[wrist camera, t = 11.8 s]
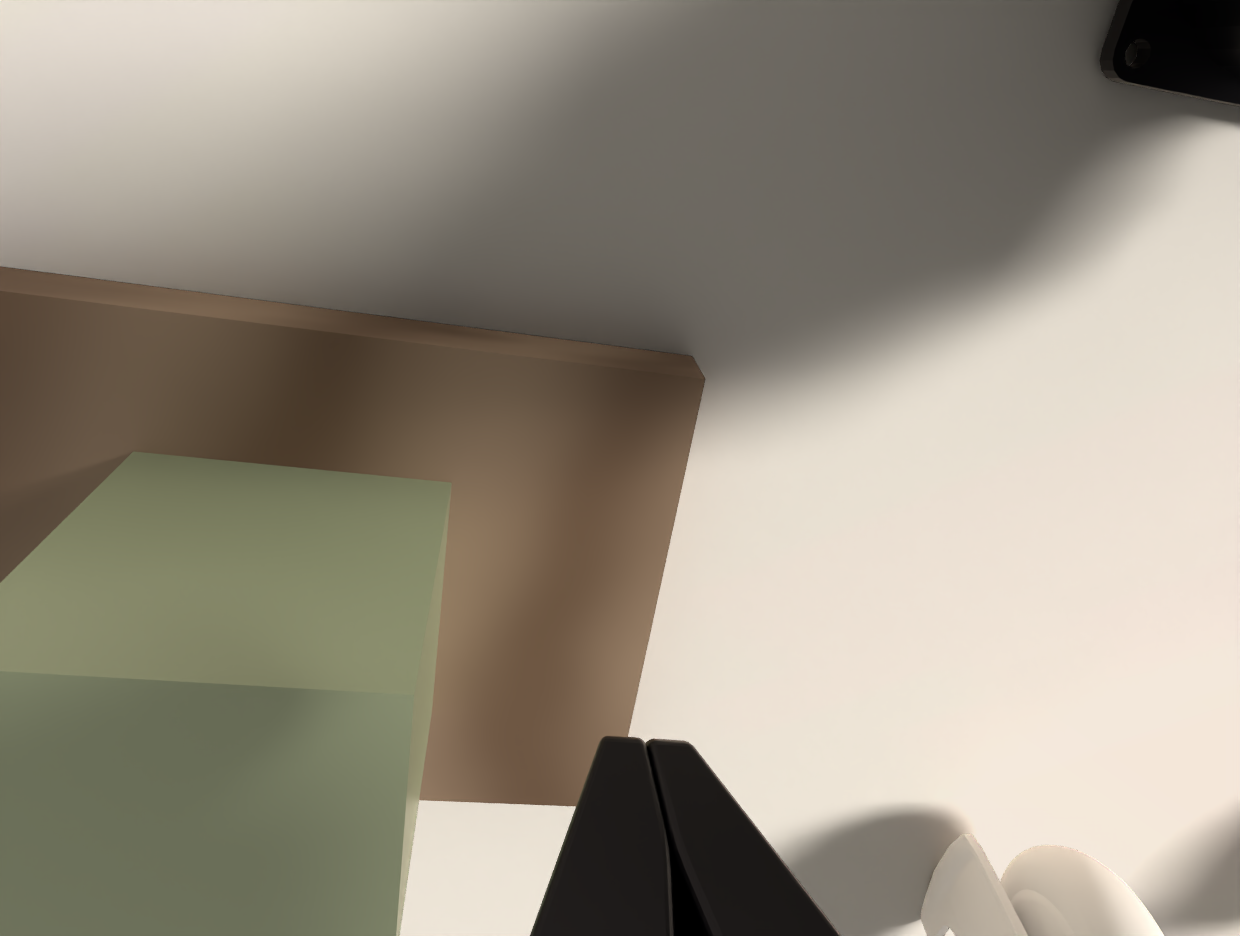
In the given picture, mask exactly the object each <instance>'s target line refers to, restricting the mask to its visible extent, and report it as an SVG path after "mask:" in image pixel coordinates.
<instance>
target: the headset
mask: <svg viewBox="0 0 1240 936" xmlns="http://www.w3.org/2000/svg"><path fill="white" fill-rule="evenodd" d="M921 920H922V923H923V926H924V929H925V931H926V934H927V936H944V935H945V934H946V932H947V931H948V929H949V928H950V929H951V930H952V931H953V933H954V934H955V936H1164V935H1163V933H1162V931H1161V930H1160V928H1159V926H1158V925H1157V923H1156V922H1155V920H1154V919H1153V917H1152V916H1151V914H1150V913H1149V911H1148V910H1147V908H1146V907H1145V906H1144V904H1143V903H1142V902H1141V900H1140V899H1139V898H1138V897H1137V895H1136V894H1135V893H1134V892H1133V891H1132V890H1131V888H1130V887H1129V886H1128V885H1127V884H1126V883H1125V882H1124V881H1123V880H1122V879H1121V878H1120V877H1119V876H1117V875H1116V874H1115V873H1114V872H1113V871H1111V870H1110V869H1109V868H1108V867H1106V866H1105V865H1104V864H1103V863H1101V862H1100V861H1098V860H1097V859H1095V858H1093V857H1091V856H1089V855H1087V854H1085V853H1083V852H1080V851H1078V850H1075V849H1072V848H1068V847H1064V846H1057V845H1041V846H1035V847H1032V848H1029V849H1027V850H1025V851H1023V852H1021V853H1020V854H1019V855H1017V856H1016V857H1015V858H1014V859H1013V860H1012V861H1011V862H1010V864H1009V865H1008V867H1007V868H1006V870H1005V871H1004V873H1003V876H1002V878H1001V881H999V879H998V877H997V875H996V873H995V871H994V869H993V867H992V865H991V864H990V862H989V860H988V858H987V856H986V854H985V852H984V851H983V849H982V847H981V846H980V844H979V843H978V842H977V840H976V839H975V837H974V836H973V835H972V834H963V835H961V836H960V837H959V838H958V839H956V840H955V841H954V842H953V843H952V844H951V845H950V846H949V847H948V849H947V850H946V852H945V854H944V855H943V857H942V858H941V860H940V862H939V863H938V865H937V866H936V868H935V870H934V872H933V875H932V878H931V881H930V884H929V887H928V890H927V893H926V896H925V899H924V902H923V906H922V910H921Z"/></svg>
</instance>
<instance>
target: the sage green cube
mask: <svg viewBox="0 0 1240 936" xmlns="http://www.w3.org/2000/svg"><path fill="white" fill-rule="evenodd" d="M451 485H452V483H451V482H441V481H430V480H420V479H410V478H400V477H389V476H379V475H369V474H359V473H348V472H338V471H328V470H318V469H307V468H297V467H287V466H277V465H266V464H256V463H246V462H236V461H226V460H215V459H205V458H195V457H185V456H174V455H164V454H154V453H144V452H132V453H131V454H130V455H129V456H128V457H127V458H126V459H125V460H124V461H123V462H122V463H121V464H120V465H119V466H118V467H117V468H116V469H115V470H114V471H113V472H112V473H111V474H110V475H109V476H108V477H107V478H106V479H105V480H104V481H103V482H102V483H101V484H100V485H99V486H98V487H97V488H96V489H95V490H94V491H93V492H92V493H91V494H90V495H89V496H88V497H87V498H86V499H85V500H84V501H83V502H82V503H81V504H80V505H79V506H78V507H77V508H76V509H75V510H74V511H73V512H72V513H71V514H70V515H69V516H68V517H67V518H66V519H65V520H63V521H62V522H61V523H60V524H59V525H58V526H57V527H56V528H55V529H54V530H53V531H52V532H51V533H50V534H49V535H48V536H47V537H46V538H45V539H44V540H43V541H42V542H41V543H40V544H39V545H38V546H37V547H36V548H35V549H34V550H33V551H32V552H31V553H30V554H29V555H28V556H27V557H26V558H25V559H24V560H23V561H22V562H21V563H20V564H19V565H18V566H17V567H16V568H15V569H14V570H13V571H12V572H11V573H10V574H9V575H8V576H7V577H6V578H5V579H4V580H3V581H2V582H1V583H0V936H399V935H400V928H401V921H402V915H403V908H404V901H405V894H406V887H407V880H408V873H409V866H410V859H411V852H412V845H413V839H414V832H415V825H416V818H417V811H418V804H419V797H420V790H421V783H422V776H423V770H424V763H425V756H426V749H427V742H428V735H429V728H430V721H431V714H432V704H433V692H434V681H435V669H436V658H437V646H438V635H439V623H440V612H441V600H442V589H443V577H444V566H445V554H446V543H447V531H448V519H449V508H450V496H451Z"/></svg>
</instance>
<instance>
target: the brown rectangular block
mask: <svg viewBox="0 0 1240 936" xmlns="http://www.w3.org/2000/svg"><path fill="white" fill-rule="evenodd" d="M704 383H705V378H704V376H703V374H702V372H701V371H700V369H699V367H698V365H697V364H696V362H695V360H694V358H693V357H692V356H688V355H680V354H672V353H664V352H657V351H649V350H641V349H634V348H626V347H618V346H610V345H603V344H595V343H587V342H579V341H572V340H564V339H556V338H548V337H541V336H533V335H525V334H517V333H510V332H502V331H494V330H487V329H479V328H471V327H463V326H456V325H448V324H440V323H432V322H425V321H417V320H409V319H401V318H394V317H386V316H378V315H370V314H363V313H355V312H347V311H340V310H332V309H324V308H316V307H309V306H301V305H293V304H285V303H278V302H270V301H262V300H254V299H247V298H239V297H231V296H223V295H216V294H208V293H200V292H193V291H185V290H177V289H169V288H162V287H154V286H146V285H138V284H131V283H123V282H115V281H107V280H100V279H92V278H84V277H76V276H69V275H61V274H53V273H45V272H38V271H30V270H22V269H15V268H7V267H0V583H1V582H2V581H3V580H4V579H5V578H6V577H7V576H8V575H9V574H10V573H11V572H12V571H13V570H14V569H15V568H16V567H17V566H18V565H19V564H20V563H21V562H22V561H23V560H24V559H25V558H26V557H27V556H28V555H29V554H30V553H31V552H32V551H33V550H34V549H35V548H36V547H37V546H38V545H39V544H40V543H41V542H42V541H43V540H44V539H45V538H46V537H47V536H48V535H49V534H50V533H51V532H52V531H53V530H54V529H55V528H56V527H57V526H58V525H59V524H60V523H61V522H62V521H63V520H65V519H66V518H67V517H68V516H69V515H70V514H71V513H72V512H73V511H74V510H75V509H76V508H77V507H78V506H79V505H80V504H81V503H82V502H83V501H84V500H85V499H86V498H87V497H88V496H89V495H90V494H91V493H92V492H93V491H94V490H95V489H96V488H97V487H98V486H99V485H100V484H101V483H102V482H103V481H104V480H105V479H106V478H107V477H108V476H109V475H110V474H111V473H112V472H113V471H114V470H115V469H116V468H117V467H118V466H119V465H120V464H121V463H122V462H123V461H124V460H125V459H126V458H127V457H128V456H129V455H130V454H131V453H132V452H144V453H154V454H164V455H174V456H185V457H195V458H205V459H215V460H226V461H236V462H246V463H256V464H266V465H277V466H287V467H297V468H307V469H318V470H328V471H338V472H348V473H359V474H369V475H379V476H389V477H400V478H410V479H420V480H430V481H441V482H451V483H452V485H451V496H450V508H449V519H448V531H447V543H446V554H445V566H444V577H443V589H442V600H441V612H440V623H439V635H438V646H437V658H436V669H435V681H434V692H433V704H432V714H431V721H430V728H429V735H428V742H427V749H426V756H425V763H424V770H423V776H422V783H421V790H420V797H419V800H429V801H455V802H480V803H505V804H530V805H556V806H577V803H578V800H579V798H580V795H581V792H582V789H583V786H584V784H585V781H586V778H587V775H588V772H589V770H590V767H591V764H592V761H593V759H594V756H595V753H596V750H597V747H598V745H599V742H600V740H601V739H602V738H603V737H605V736H620V737H628V733H629V728H630V724H631V719H632V715H633V710H634V705H635V701H636V696H637V691H638V687H639V682H640V678H641V673H642V668H643V664H644V659H645V655H646V650H647V645H648V641H649V636H650V632H651V627H652V622H653V618H654V613H655V609H656V604H657V599H658V595H659V590H660V585H661V581H662V576H663V572H664V567H665V562H666V558H667V553H668V549H669V544H670V539H671V535H672V530H673V526H674V521H675V516H676V512H677V507H678V503H679V498H680V493H681V489H682V484H683V479H684V475H685V470H686V466H687V461H688V456H689V452H690V447H691V443H692V438H693V433H694V429H695V424H696V420H697V415H698V410H699V406H700V401H701V396H702V392H703V387H704Z"/></svg>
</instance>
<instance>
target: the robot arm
mask: <svg viewBox="0 0 1240 936" xmlns="http://www.w3.org/2000/svg"><path fill="white" fill-rule="evenodd" d="M1133 42H1135V43H1136V46H1137V55H1136V58H1135V59H1134V61H1133V62H1132V64H1130V65H1129V66H1127V64H1126V61H1125V54H1126V50H1127V49H1128V47H1129V45H1130V44H1131V43H1133ZM1100 65H1101V71H1102V72H1103V74H1104V75H1105V76H1106V78H1108V79H1110V80H1112V81H1114V82H1118V83H1123V84H1128V85H1133V86H1138V87H1143V88H1148V89H1153V90H1158V91H1163V92H1168V93H1173V94H1178V95H1183V96H1188V97H1193V98H1198V99H1203V100H1208V101H1213V102H1218V103H1223V104H1228V105H1233V106H1238V107H1240V0H1120V1H1119V3H1118V6H1117V9H1116V12H1115V15H1114V17H1113V20H1112V23H1111V26H1110V28H1109V31H1108V34H1107V37H1106V39H1105V42H1104V45H1103V48H1102V51H1101V57H1100ZM530 936H841V935H840V933H839V932H838V931H837V930H836V928H835V927H834V926H833V924H832V923H831V922H830V921H829V919H828V918H827V917H826V915H825V914H824V913H823V912H822V910H821V909H820V908H819V906H818V905H817V904H816V903H815V901H814V900H813V899H812V898H811V896H810V895H809V894H808V892H807V891H806V890H805V889H804V887H803V886H802V885H801V883H800V882H799V881H798V880H797V878H796V877H795V876H794V874H793V873H792V872H791V871H790V869H789V868H788V867H787V865H786V864H785V863H784V862H783V860H782V859H781V858H780V856H779V855H778V854H777V853H776V851H775V850H774V849H773V847H772V846H771V845H770V844H769V842H768V841H767V840H766V838H765V837H764V836H763V835H762V833H761V832H760V831H759V830H758V828H757V827H756V826H755V824H754V823H753V822H752V821H751V819H750V818H749V817H748V815H747V814H746V813H745V812H744V810H743V809H742V808H741V806H740V805H739V804H738V803H737V801H736V800H735V799H734V797H733V796H732V795H731V794H730V792H729V791H728V790H727V788H726V787H725V786H724V785H723V783H722V782H721V781H720V779H719V778H718V777H717V776H716V774H715V773H714V772H713V770H712V769H711V768H710V767H709V765H708V764H707V763H706V762H705V760H704V759H703V758H702V756H701V755H700V754H699V753H698V751H697V750H696V749H695V748H694V746H693V745H691V744H690V743H689V742H686V741H681V740H666V739H651V740H649V741H647V742H646V744H645V742H644V741H643V740H642V739H640V738H635V737H620V736H605V737H603V738H602V739H601V740H600V742H599V745H598V747H597V750H596V753H595V756H594V759H593V761H592V764H591V767H590V770H589V772H588V775H587V778H586V781H585V784H584V786H583V789H582V792H581V795H580V798H579V800H578V803H577V806H576V809H575V812H574V814H573V817H572V820H571V823H570V826H569V828H568V831H567V834H566V837H565V839H564V842H563V845H562V848H561V851H560V853H559V856H558V859H557V862H556V865H555V867H554V870H553V873H552V876H551V879H550V881H549V884H548V887H547V890H546V892H545V895H544V898H543V901H542V904H541V906H540V909H539V912H538V915H537V918H536V920H535V923H534V926H533V929H532V932H531V934H530Z"/></svg>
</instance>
